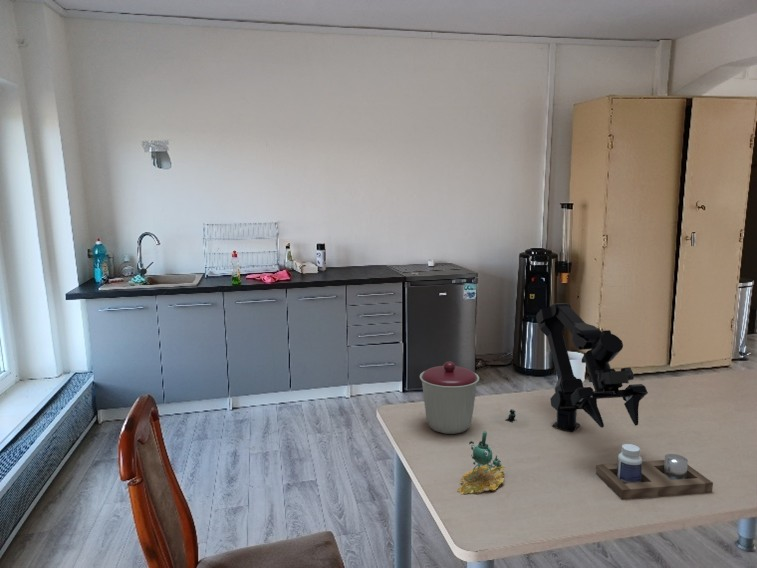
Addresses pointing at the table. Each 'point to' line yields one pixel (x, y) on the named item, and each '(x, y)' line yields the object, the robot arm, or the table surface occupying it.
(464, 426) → the canister
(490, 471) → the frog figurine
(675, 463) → the steel peg
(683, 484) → the brown holder board
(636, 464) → the pill bottle
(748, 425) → the table surface
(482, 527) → the table surface
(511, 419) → the sculpture
